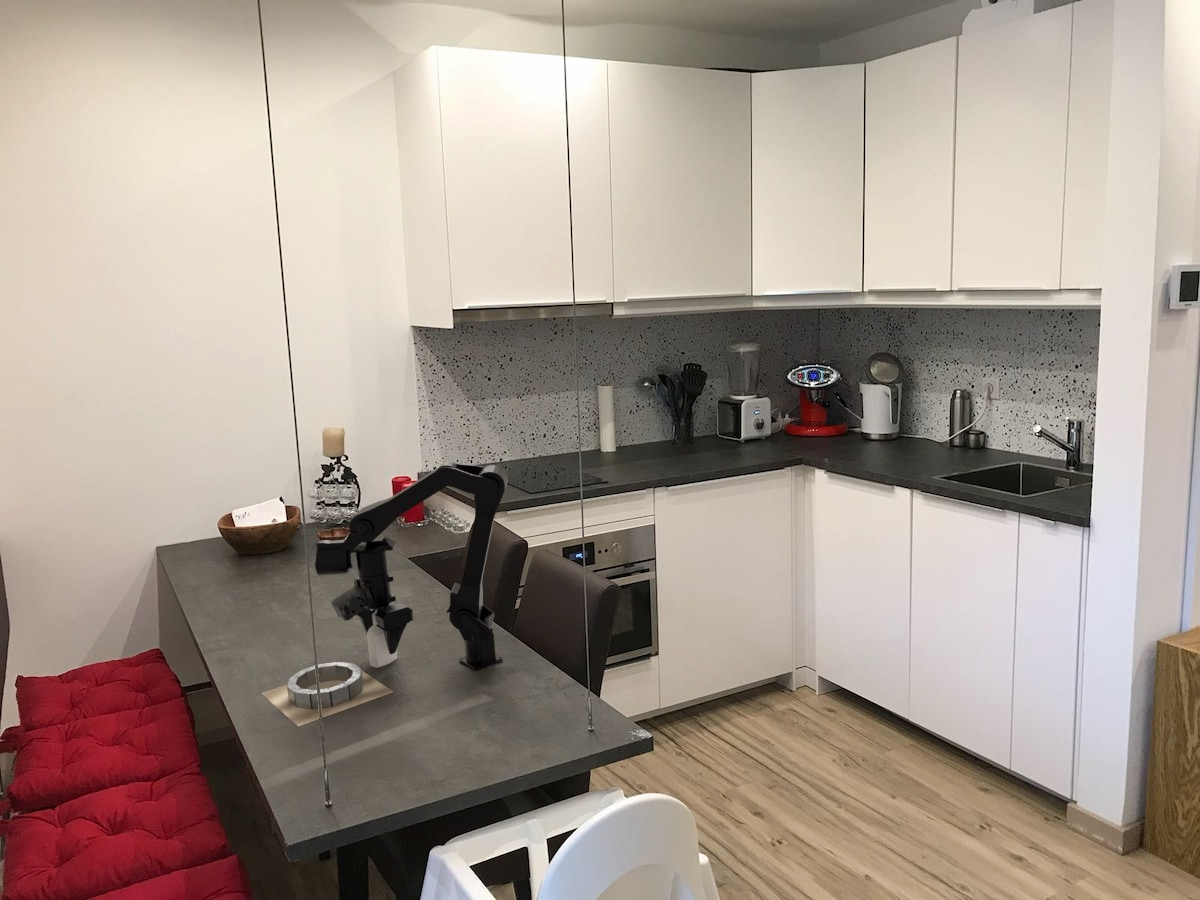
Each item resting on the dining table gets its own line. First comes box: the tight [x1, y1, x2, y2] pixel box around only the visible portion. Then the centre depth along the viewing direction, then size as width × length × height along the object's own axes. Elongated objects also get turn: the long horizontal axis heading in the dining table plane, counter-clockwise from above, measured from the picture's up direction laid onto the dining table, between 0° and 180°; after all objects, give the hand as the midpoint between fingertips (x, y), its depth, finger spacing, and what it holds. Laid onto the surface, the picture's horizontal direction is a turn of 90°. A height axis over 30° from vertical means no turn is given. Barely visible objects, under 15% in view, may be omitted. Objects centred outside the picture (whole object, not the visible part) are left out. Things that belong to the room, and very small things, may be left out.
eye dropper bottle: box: [366, 611, 398, 668], centre depth 185 cm, size 4×6×12 cm
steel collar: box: [286, 661, 363, 710], centre depth 173 cm, size 13×13×3 cm
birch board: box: [261, 670, 394, 727], centre depth 174 cm, size 18×18×1 cm
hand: (382, 647), depth 186 cm, fingers closed on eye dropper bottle, 8 cm apart
